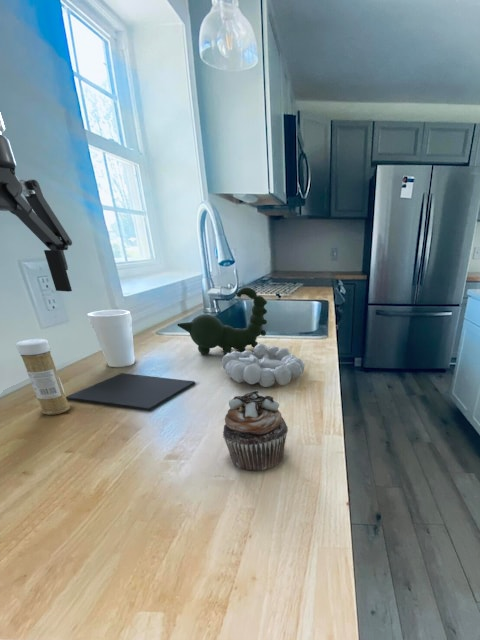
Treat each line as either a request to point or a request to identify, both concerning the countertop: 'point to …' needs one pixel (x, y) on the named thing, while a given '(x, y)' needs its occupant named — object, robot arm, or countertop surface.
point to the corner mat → (132, 391)
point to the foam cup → (114, 335)
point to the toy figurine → (228, 328)
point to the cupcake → (255, 432)
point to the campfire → (263, 365)
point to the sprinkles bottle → (43, 375)
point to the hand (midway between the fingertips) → (28, 296)
